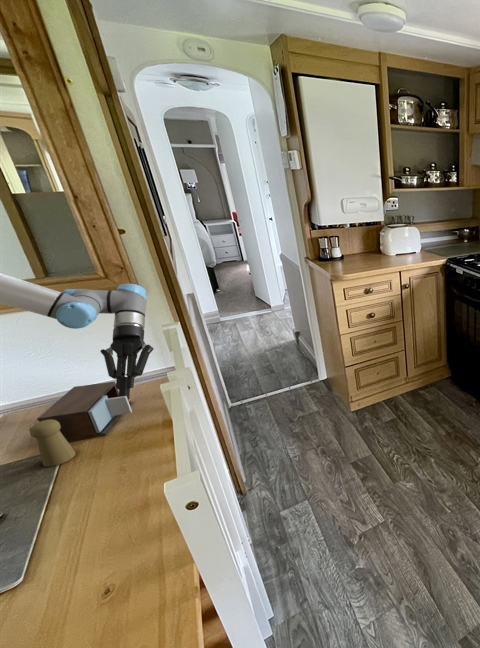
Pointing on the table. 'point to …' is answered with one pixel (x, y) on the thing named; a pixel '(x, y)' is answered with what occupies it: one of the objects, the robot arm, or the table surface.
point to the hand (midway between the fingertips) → (124, 398)
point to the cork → (51, 443)
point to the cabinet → (80, 410)
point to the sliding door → (108, 410)
